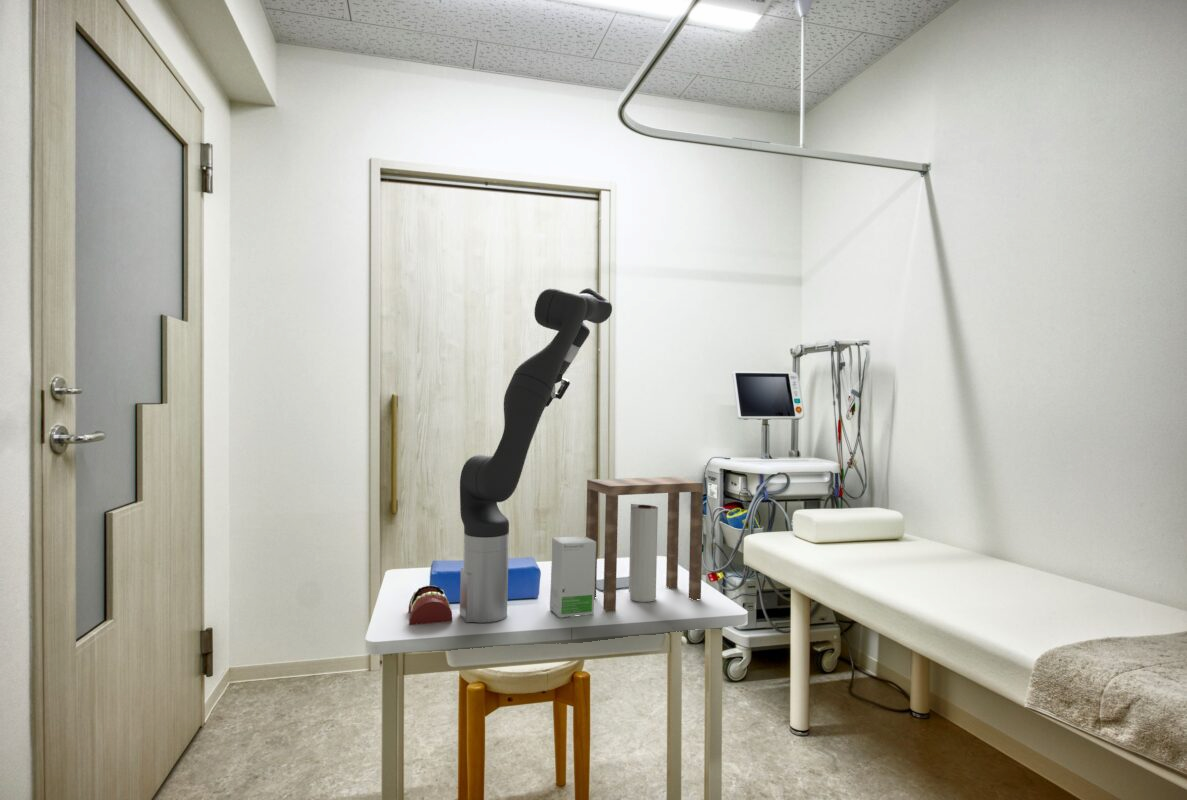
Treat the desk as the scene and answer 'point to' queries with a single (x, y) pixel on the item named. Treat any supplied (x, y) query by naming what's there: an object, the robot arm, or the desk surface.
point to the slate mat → (620, 583)
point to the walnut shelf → (696, 515)
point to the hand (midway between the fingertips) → (531, 399)
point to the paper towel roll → (643, 552)
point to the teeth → (429, 606)
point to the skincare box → (572, 576)
